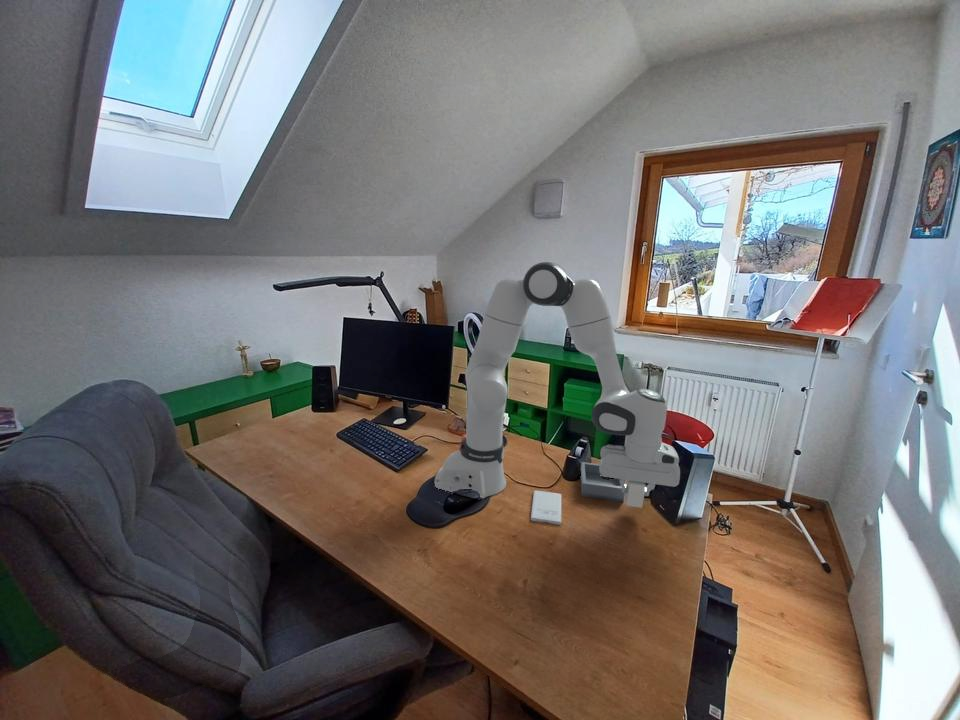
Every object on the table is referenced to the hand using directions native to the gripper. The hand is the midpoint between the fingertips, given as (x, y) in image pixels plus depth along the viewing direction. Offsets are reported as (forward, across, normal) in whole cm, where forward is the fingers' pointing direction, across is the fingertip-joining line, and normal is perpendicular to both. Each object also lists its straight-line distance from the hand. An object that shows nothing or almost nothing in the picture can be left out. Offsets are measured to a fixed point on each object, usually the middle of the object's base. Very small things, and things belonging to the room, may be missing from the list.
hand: (634, 493), depth 107 cm
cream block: (+3, 0, 0) cm, 3 cm away
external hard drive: (+8, -24, -4) cm, 25 cm away
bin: (+6, -8, +10) cm, 14 cm away
